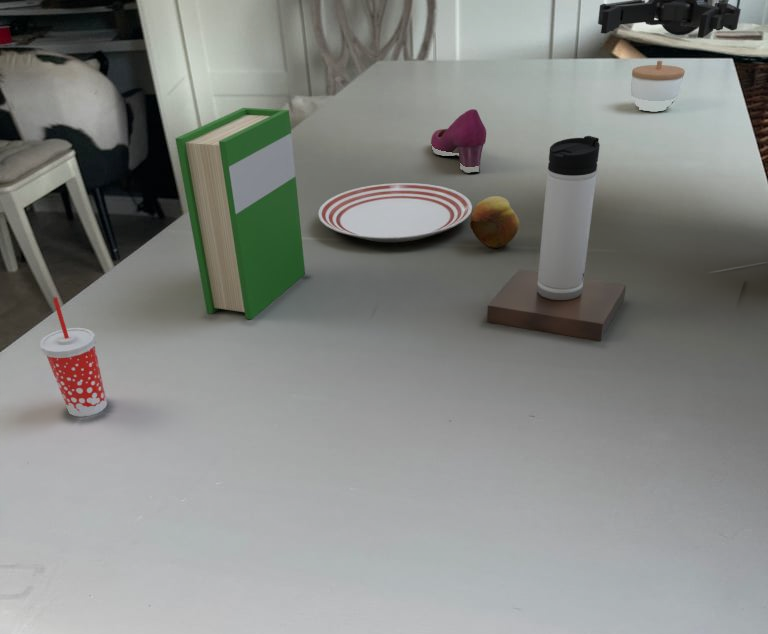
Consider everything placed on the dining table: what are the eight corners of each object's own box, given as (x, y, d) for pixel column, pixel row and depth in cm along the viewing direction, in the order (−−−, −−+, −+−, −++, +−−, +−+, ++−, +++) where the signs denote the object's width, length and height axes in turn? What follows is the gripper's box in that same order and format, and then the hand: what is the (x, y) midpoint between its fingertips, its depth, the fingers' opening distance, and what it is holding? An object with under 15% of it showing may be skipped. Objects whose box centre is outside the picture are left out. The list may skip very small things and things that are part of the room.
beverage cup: (114, 414, 97) (83, 304, 88) (60, 423, 95) (24, 313, 87) (112, 390, 101) (83, 283, 93) (62, 399, 100) (27, 291, 91)
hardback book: (251, 319, 116) (225, 141, 101) (207, 313, 119) (175, 138, 104) (305, 274, 129) (288, 110, 114) (264, 268, 131) (243, 107, 116)
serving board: (623, 300, 117) (626, 284, 116) (600, 341, 107) (603, 323, 106) (518, 284, 123) (519, 268, 121) (486, 322, 113) (487, 305, 111)
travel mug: (592, 292, 114) (613, 141, 101) (558, 305, 111) (575, 150, 98) (561, 279, 118) (577, 131, 105) (527, 290, 115) (539, 140, 102)
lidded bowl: (620, 105, 212) (626, 58, 205) (666, 102, 213) (674, 55, 206) (637, 116, 202) (644, 67, 195) (685, 113, 203) (694, 64, 196)
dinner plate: (446, 259, 132) (446, 239, 130) (294, 244, 140) (292, 224, 138) (488, 206, 152) (489, 188, 150) (353, 195, 160) (352, 178, 158)
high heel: (454, 143, 188) (455, 84, 181) (500, 171, 169) (503, 107, 161) (419, 147, 186) (419, 88, 179) (462, 177, 167) (463, 112, 159)
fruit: (512, 256, 132) (516, 206, 127) (463, 252, 134) (464, 202, 129) (521, 240, 137) (525, 192, 133) (474, 236, 140) (476, 188, 135)
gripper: (765, 35, 124) (738, 59, 110) (607, 29, 135) (564, 50, 120) (779, -23, 120) (752, -6, 106) (613, -25, 130) (569, -10, 116)
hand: (652, 24), depth 113 cm, fingers open, 13 cm apart
